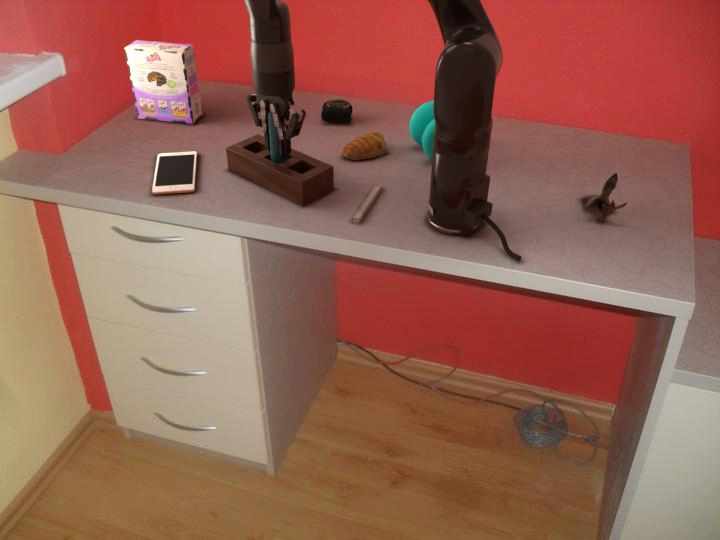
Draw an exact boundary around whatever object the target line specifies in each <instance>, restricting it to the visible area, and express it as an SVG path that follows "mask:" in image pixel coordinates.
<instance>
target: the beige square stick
mask: <svg viewBox="0 0 720 540" xmlns="http://www.w3.org/2000/svg"><path fill="white" fill-rule="evenodd" d="M381 191H382V186H381V185H377V184H376V185H375V186H374V187H373V188H372V190H371V191H370V193H369V194H368V195H367V196H366V198H365V200H364V201H363V203H362V204H361V206H359V209H358V210H357V211H356V213H355V215H354V216H353V218H352V223H355V224H360V223H361V221H362V220H363V218H364V217H365V215H366V214H367V213H368V211H369V210H370V208H371V206H372V204H374V201H375V200H376V199H377V197H378V196H379V195H380V193H381Z"/></svg>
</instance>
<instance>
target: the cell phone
mask: <svg viewBox="0 0 720 540" xmlns="http://www.w3.org/2000/svg"><path fill="white" fill-rule="evenodd" d="M197 157H198V153H197V151H196V150H195V151H193V150H192V151H179V152H160V153H158V154H157V158H156V164H155V170H154V175H153V182H152V188H151V193H152V195H168V194H182V193H183V194H184V193H194V192H195V191H196V189H195V188H196V174H197V160H198V158H197Z"/></svg>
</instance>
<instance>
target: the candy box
mask: <svg viewBox="0 0 720 540" xmlns="http://www.w3.org/2000/svg"><path fill="white" fill-rule="evenodd" d="M123 51H124V54H125V59H126V64H127V70H128V76H129V80H130V84H131V91H132V95H133V101H134V105H135V110H136V116H137V119H139V120H150V121H158V122H159V121H160V122H170V123H177V124H178V123H179V124H187V125H190V124H191V125H194V124H195V123H196V122H197V121H198V120H199V119H200V118H202V116H203V108H202V107H203V105H202V100H201V92H200V84H199V76H198V70H197V62H196V55H195V48H194V44H190V43H177V42H165V41H154V40H153V41H151V40H142V39H141V40H140V39H136V40H134V41H132V42H131V43H130V44H127V46H125V47H124V48H123Z"/></svg>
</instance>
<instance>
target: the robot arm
mask: <svg viewBox="0 0 720 540" xmlns="http://www.w3.org/2000/svg"><path fill="white" fill-rule="evenodd" d="M427 2H428V3H429V5H430V7H431V9H432V11H433V15H434V17H435V20H436V22H437V25H438V29H439V32H440V34H441V38H442V43H443V45H444V46H443V49H442V50H441V52H440V54H439V56H438V58H437V61H436V67H435V74H434V91H433V93H434V94H433V101H434V108H433V114H434V119H435V133H434V146H433V158H432V159H431V171H430V184H429V185H430V187H429V196H428V198H429V199H428V200H427V201H426V208H427V209H428V210H427V214H426V215H427V217H426V221H427V223H428V225H429V226H430V227H431V228H432V229H434V230H436V232H437V231H438V232H439V233H443V234H447V235H458V236H462V237H464V238H465V237H468V236H469V235H471V234H472V233H473V232H474V231H476V230H477V229H479V228H480V227H481V226H483V225H484V224H485V222H486V224H488V225H489V226H490V227H491V228H492V229H493V231H494V232H495V233H496V234H497V236H498V238H499V240H500V242H501V245H502V248H503V250H504V252H505V253H506V254H507V256H509V257H510V258H512V259H514V260H516V261H519V262H520V261H521V260H522V257H523V256H522V255H519V254H517V253H515V252H513V251H512V250H511V248H510V247H509V244H508V241H507V239H506V236H505V234H504V232H503V231H502V230H501V228H500V227H499V226H498V225H497V224H496V223H495V222H494V221H493V220H492V219H491V218H490V217H491V216H492V211H493V205H494V203H493V202H490V201H488V198H489V190H490V185H491V176H490V175H488V174H487V170H488V161H489V154H490V148H491V147H490V146H491V139H492V131H493V123H494V120H493V117H492V115H493V114H492V113H493V105H494V97H495V88H496V87H495V86H496V80H497V77H498V75H499V73H500V72H501V68H502V65H503V60H504V53H503V52H504V51H503V46H502V44H501V41H500V38H499V36H498V34H497V32H496V30H495V28H494V26H493V24H492V22H491V19H490V17H489V15H488V14H487V11H486V10H485V7H484V6H483V3H482V1H481V0H427ZM243 3H244V6H245V9H246V11H247V14H248V26H249V37H250V47H249V55H250V67H251V78H252V79H251V80H252V88H253V90H254V93H251V94H248V95H246V97H245V99H246V102H247V105H248V108H249V110H250V113H251V117H252V119H253V121H254V125H255V127H257V128H261V131H262V132H263V135H264V136H263V137H264V138H265V145H266V150H268V151H270V139H269V126H268V112H267V111H269V112H271V113H272V114H273V119H274V125H275V127H277V129H278V134H279V153H280V156H281V157H285V156H288V155H289V154H290V153H291V148H292V139H294V138H295V137H297V136H300V134H301V130H302V127H303V125H304V123H305V122H304V121H305V118H306V116H307V112H306V110H305V109H303V108H302V109H299V108H298V107H296V105H295V104H296V103H295V100H294V97H293V94H294V93H293V92H294V91H295V89H296V76H295V75H296V74H295V72H296V71H295V53H294V45H293V39H292V21H291V18H292V17H291V10H290V7H289V5H288V3H286V2H285V1H283V0H243ZM259 113H260V115H259ZM283 119H284V120H283ZM280 120H283V121H281V122H280ZM284 126H285V131H284Z"/></svg>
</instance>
